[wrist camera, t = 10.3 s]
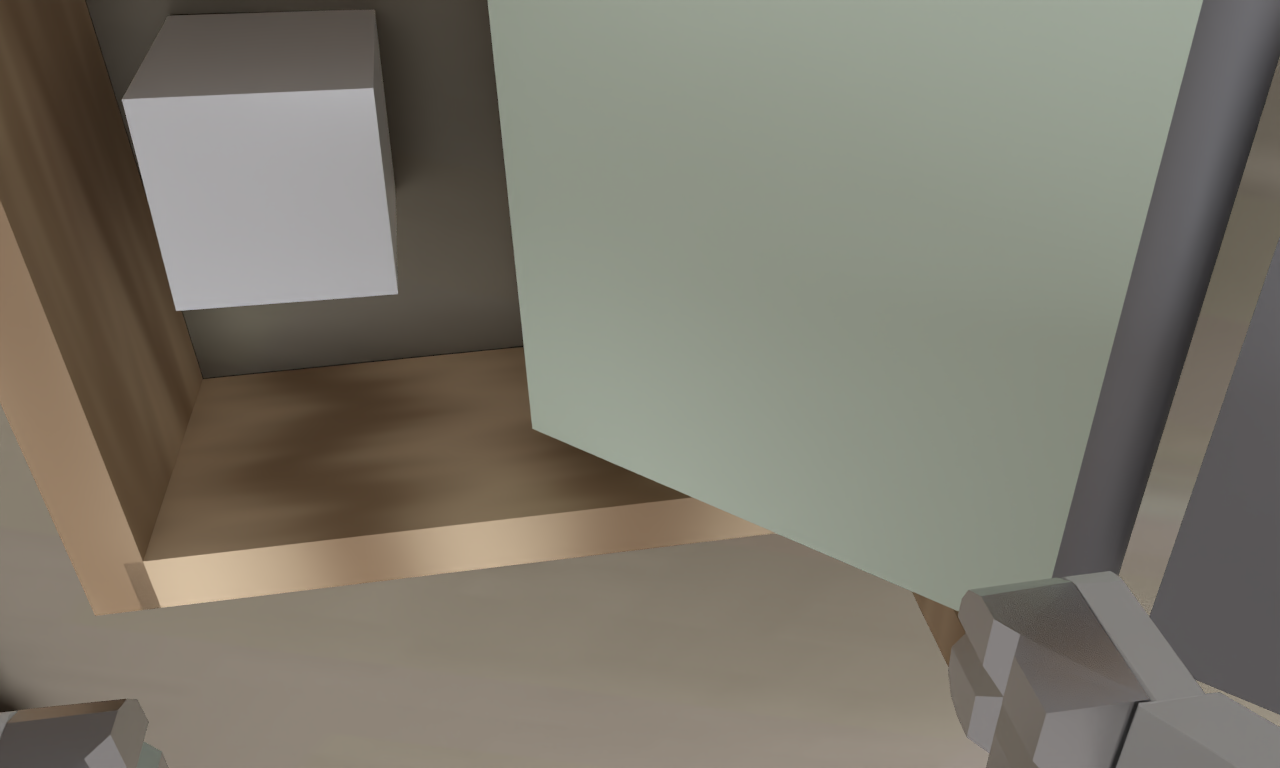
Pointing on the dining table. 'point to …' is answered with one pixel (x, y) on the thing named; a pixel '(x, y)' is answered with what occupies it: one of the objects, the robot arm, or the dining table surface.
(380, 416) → the trapdoor frame
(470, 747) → the dining table surface
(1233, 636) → the trapdoor
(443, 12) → the dining table surface
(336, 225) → the light grey block
